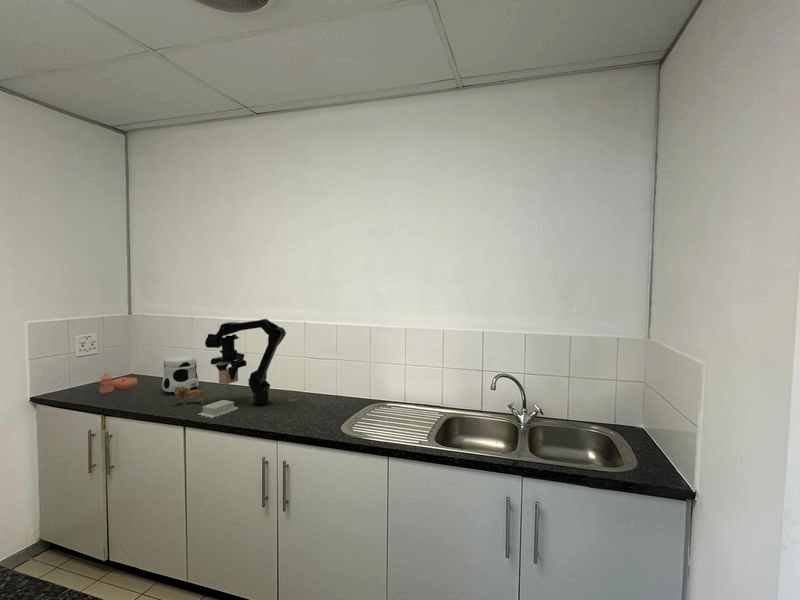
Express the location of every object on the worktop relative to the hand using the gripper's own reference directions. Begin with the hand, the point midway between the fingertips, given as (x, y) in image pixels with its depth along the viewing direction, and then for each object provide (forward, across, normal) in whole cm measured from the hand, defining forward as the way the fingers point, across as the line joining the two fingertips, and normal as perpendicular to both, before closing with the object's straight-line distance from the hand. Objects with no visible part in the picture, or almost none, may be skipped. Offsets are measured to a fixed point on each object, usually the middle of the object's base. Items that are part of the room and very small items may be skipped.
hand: (228, 379), depth 193 cm
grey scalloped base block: (+12, -8, +12) cm, 19 cm away
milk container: (+12, +39, -2) cm, 41 cm away
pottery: (+12, +75, +11) cm, 76 cm away
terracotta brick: (+1, 0, 0) cm, 1 cm away
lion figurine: (+12, +15, +10) cm, 21 cm away
